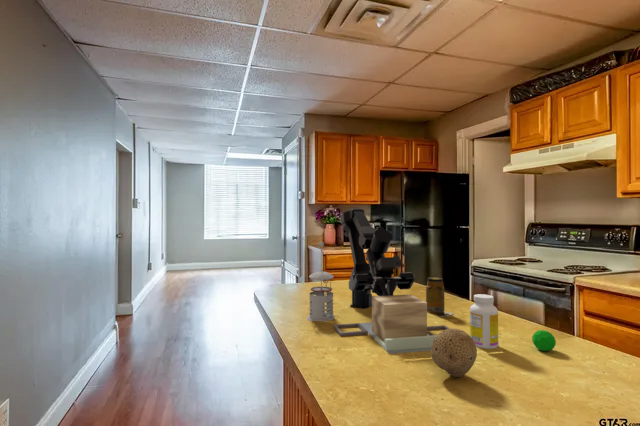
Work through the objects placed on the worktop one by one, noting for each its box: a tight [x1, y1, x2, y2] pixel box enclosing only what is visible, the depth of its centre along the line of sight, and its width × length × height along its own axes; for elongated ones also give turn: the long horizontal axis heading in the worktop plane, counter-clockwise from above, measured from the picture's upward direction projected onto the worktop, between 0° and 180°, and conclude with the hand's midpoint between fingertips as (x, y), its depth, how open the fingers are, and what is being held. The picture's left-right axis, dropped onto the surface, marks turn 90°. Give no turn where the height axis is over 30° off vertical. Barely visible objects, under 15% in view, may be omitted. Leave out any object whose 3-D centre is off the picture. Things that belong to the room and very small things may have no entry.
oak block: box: [371, 294, 428, 343], centre depth 101 cm, size 10×12×10 cm
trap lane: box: [333, 321, 451, 355], centre depth 101 cm, size 25×32×3 cm
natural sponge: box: [430, 328, 478, 378], centre depth 76 cm, size 9×9×10 cm
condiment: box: [425, 276, 454, 318], centre depth 125 cm, size 7×8×12 cm
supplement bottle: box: [469, 293, 499, 350], centre depth 94 cm, size 7×7×13 cm
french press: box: [306, 241, 336, 323], centre depth 120 cm, size 10×12×25 cm
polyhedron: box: [531, 329, 557, 352], centre depth 91 cm, size 5×5×5 cm
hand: (391, 305), depth 106 cm, fingers closed, pressing on oak block
